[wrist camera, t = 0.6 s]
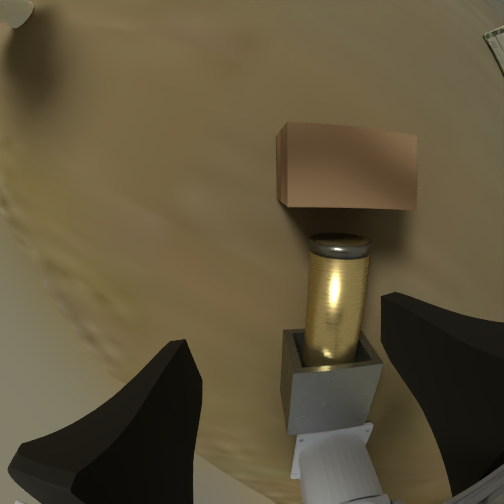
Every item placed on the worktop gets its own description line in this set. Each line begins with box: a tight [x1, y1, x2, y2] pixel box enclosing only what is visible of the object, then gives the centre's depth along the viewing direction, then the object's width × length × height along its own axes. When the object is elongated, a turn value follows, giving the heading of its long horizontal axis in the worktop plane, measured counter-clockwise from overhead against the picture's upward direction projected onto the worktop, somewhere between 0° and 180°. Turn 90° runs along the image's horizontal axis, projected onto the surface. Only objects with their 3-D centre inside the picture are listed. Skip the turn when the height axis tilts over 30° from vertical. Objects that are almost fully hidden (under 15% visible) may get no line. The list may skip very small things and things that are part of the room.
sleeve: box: [280, 329, 383, 435], centre depth 19 cm, size 6×6×5 cm
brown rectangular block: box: [276, 122, 417, 210], centre depth 15 cm, size 4×7×5 cm, turn 91°
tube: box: [302, 233, 371, 368], centre depth 18 cm, size 13×4×4 cm, turn 1°
